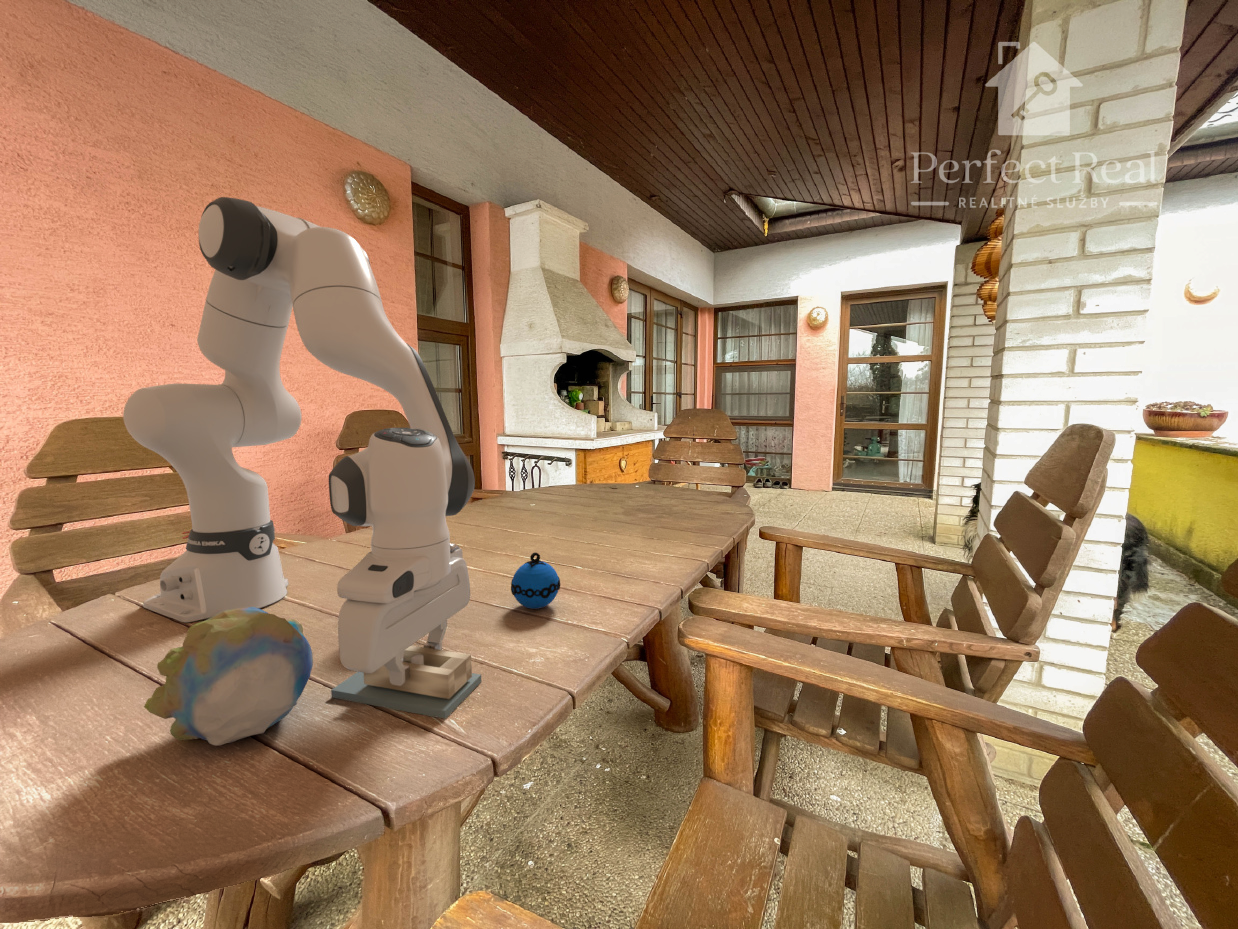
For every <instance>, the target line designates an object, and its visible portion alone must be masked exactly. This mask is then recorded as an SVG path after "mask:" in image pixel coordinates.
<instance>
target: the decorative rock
mask: <svg viewBox="0 0 1238 929" xmlns="http://www.w3.org/2000/svg"><path fill="white" fill-rule="evenodd" d="M313 656H314V654H313V650H312V648H311V644H310V642H309V640H308V639H307V638H306V637H305V635H304V628H303V625H302V623H300V622H298V621H297V620H296V619H294V618H293V619H292V618H291V619H286V618H284V617H279V616H277V615H276V614H273V613H268V612H267V611H265V610H263V609H261V608H255V607H247V608H238V609H232V610H227V611H224V612H222V613H219V614H217V615H215V616H213V617H210V618H207V619H206V620H205V619H204V621H203V620H202V621H199V622H197V623H194V624H192V625H191V626H190V627H188V630H187V633H186V636H185V638H184V639H183V642H182V646H179V647H173V648H170V649H169V651H168V652H167V653H166V655H165V657H164V658H163V659H162V660H160V661H159V662H158V663H157V666H156V668H157V670H158V672H159V674H160V675H161V676H163V677H165V683H164V684H162V685H160V686H158V687H156V688H155V690H154V692H153V693H152V695H151V697H150V698H148V699H146V702H145V704H144V706H143V708H145V709H146V710H147V711H148V712H149V713H150V714H151V715H154V716H155V717H156V716H157V717H159V718H161V719H165V720H166V719H167V720H168V719H171V718H174V719H175V720H174V721H173V722H172V724H171V725H170V729H169V733H170V735H171V737H173V738H175V739H177V740H179V741H181V740H186V741H189V740H198V739H202V740H204V741H207V742H208V743H209V744H210V745H212V746H215V747H216V746H222V745H225V744H227V743H233V742H236V741H238V740H241V739H245V738H248V737H251V736H255V735H261V734H265V732H266V730H267V729H269V728H270V727H272V726H273V725H275V724H276V723H278V722H279V721H281V720H282V719H284V718H285V717H287V716H288V715H289V714H290V713H291V711H292V710H293V708H295V706H297V702H298V700H299V699H300V697H301V695H302V693H303V692H304V689H305V687H306V685H307V683H308V681H309V680H310V677H311V674H312V671H313V666H314V657H313Z"/></svg>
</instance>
